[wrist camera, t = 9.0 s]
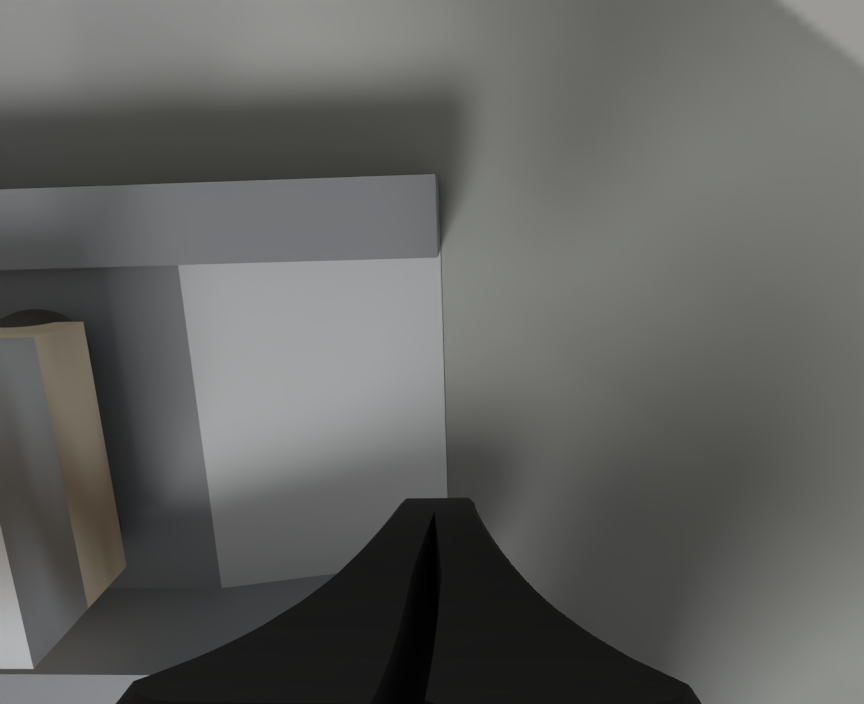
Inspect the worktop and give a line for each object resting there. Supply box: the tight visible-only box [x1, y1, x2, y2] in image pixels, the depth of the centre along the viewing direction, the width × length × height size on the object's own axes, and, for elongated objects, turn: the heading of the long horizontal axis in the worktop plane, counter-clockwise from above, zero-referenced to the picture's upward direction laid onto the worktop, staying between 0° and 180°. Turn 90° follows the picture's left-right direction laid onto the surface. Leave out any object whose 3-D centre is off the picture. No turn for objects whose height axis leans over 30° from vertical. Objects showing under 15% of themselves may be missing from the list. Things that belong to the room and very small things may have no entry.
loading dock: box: [0, 174, 447, 704], centre depth 17 cm, size 14×20×6 cm
